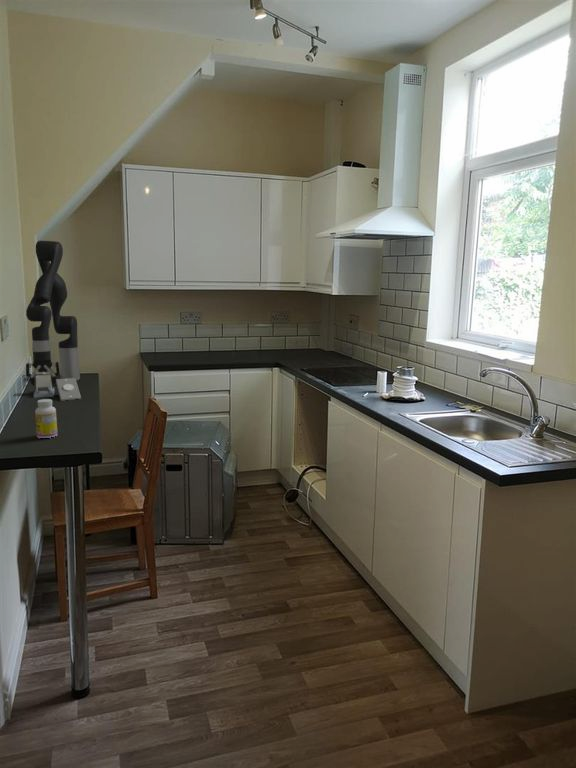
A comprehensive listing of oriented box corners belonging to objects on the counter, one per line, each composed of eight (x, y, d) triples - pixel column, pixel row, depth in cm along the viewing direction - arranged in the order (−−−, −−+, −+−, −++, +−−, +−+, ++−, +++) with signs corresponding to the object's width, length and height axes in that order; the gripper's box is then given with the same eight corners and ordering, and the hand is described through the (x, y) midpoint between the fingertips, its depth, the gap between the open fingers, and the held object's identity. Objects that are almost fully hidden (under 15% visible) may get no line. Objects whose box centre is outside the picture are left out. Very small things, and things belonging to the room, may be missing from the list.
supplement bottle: (36, 435, 206) (34, 399, 204) (57, 433, 209) (54, 397, 207) (37, 440, 200) (34, 403, 198) (58, 438, 203) (55, 401, 201)
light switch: (61, 397, 259) (55, 377, 269) (60, 408, 263) (55, 387, 272) (81, 395, 263) (75, 376, 273) (80, 406, 267) (75, 386, 276)
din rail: (40, 388, 280) (39, 382, 279) (50, 387, 281) (49, 382, 281) (38, 394, 267) (37, 388, 267) (48, 393, 268) (48, 387, 268)
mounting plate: (36, 391, 280) (36, 388, 279) (54, 390, 282) (54, 387, 282) (33, 397, 267) (33, 394, 266) (53, 396, 269) (52, 393, 269)
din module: (37, 389, 276) (36, 374, 274) (51, 389, 277) (50, 373, 276) (36, 391, 271) (35, 376, 270) (51, 391, 273) (50, 375, 271)
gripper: (58, 348, 276) (60, 382, 279) (25, 349, 272) (27, 384, 275) (57, 350, 269) (60, 385, 272) (23, 351, 265) (26, 387, 268)
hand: (43, 385), depth 274 cm, fingers open, 8 cm apart
